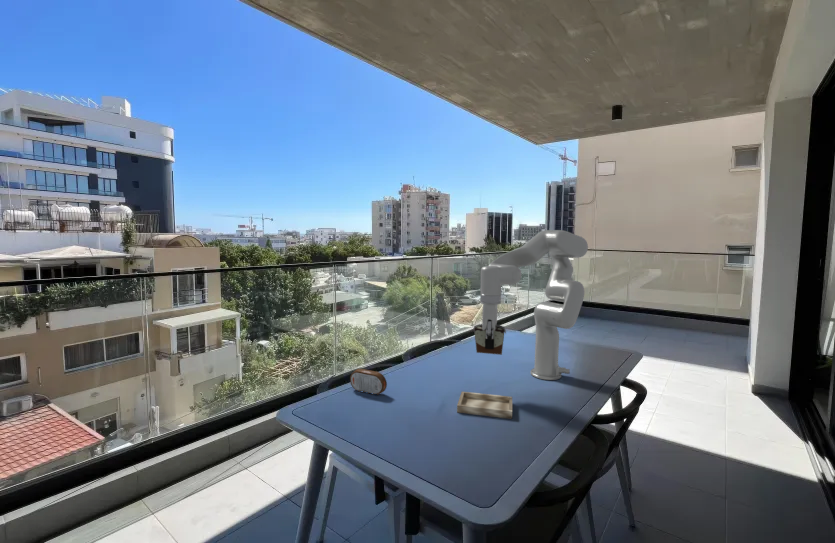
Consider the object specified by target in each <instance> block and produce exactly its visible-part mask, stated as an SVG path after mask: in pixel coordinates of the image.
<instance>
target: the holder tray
mask: <svg viewBox="0 0 835 543" xmlns="http://www.w3.org/2000/svg"><path fill="white" fill-rule="evenodd" d="M456 406H457V407H456V413H459V414H468V415H475V416H476V415H477V416H485V417H493V418H500V419H509V420H510V419H511V420H512V419H513V396H508V395H499V394H490V393H489V394H488V393H481V392H480V393H479V392H469V391H461V393H460V395H459V399H458V401H457V405H456Z"/></svg>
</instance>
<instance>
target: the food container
mask: <svg viewBox="0 0 835 543" xmlns="http://www.w3.org/2000/svg"><path fill="white" fill-rule="evenodd" d="M487 330H488V329H487ZM491 330H493V329H491ZM472 332H474V341H475V348H476V349H475V351H476V354H477V353H478V354H487V355H498V356H502V355H503V350H504V349H503V348H504V341H505V340H504V339H505V334H507V330H506V327H505V326H504V325H500V324H496V329H495V331H494V334H493V339H494V349H485V338H486V329H485V330H484V331H483V330H482V323H481V324H476V325H474V326H473V328H472ZM491 333H492V332H491Z"/></svg>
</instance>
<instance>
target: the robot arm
mask: <svg viewBox="0 0 835 543" xmlns="http://www.w3.org/2000/svg"><path fill="white" fill-rule="evenodd" d="M588 250H589V246H588V242H587V240H586V239H585V238H584V237H582V236H580V235H577V234H575V233H572V232H570V231H566V230H561V229H551V230H550V229H546V230H545V229H544V230H541V231H539V232H538V233H536V234H535V235H534V236H533V237H531V238H530V239H528V241H527V242H525V243H524V244H523V245H522V246H520V247H517V248H515V249H512V250H511V251H508V252H505V253H503V254H501V255H499V256H498V257H497V258H495V259H494V260H493V261H491V262H490V263H489V265H485V266H484V265H483V266H482V267H481V268H480V299H479V300H480V301H479V302H480V304H481V305H482V317H481V318H482V322H481V324H482V330H483V331H484V330H485V329H486V338H485V349H494V339H493V334H494V331H495V329H496V325H498V324H497V323H498V306H499V305H501V304H502V285H503V286H504V285H505V286H513V285H516V284H518V283H519V282H520V280H521V279H522V270H521V269H520V268H522V267H523V268H524V267H529V266H532V265H536V264H537V262H538V261H540V260H542V258H543V257H545V255H547V254H549V256H550V259H551V262H552V267H551V268H552V269H551V271H550V275H549V278H548V279H547V280H548V281H547V283H546V286H545V291H544V293H545V294H544V295H545V297H546V298H547V299H549V300H551V301H556V302H562V303H563V304H562V303H556V302H551V301H541V302H538V303H537V304H536V305H535V307H534V310H533V316H534V323H535V348H534V367H533V368H532V369H530V375H531V376H532V377H534V378H537V379H540V380H545V381H555V380H559V379H561V378H562V374H567V375H570V373H571V372H570V368H566V367H560V366H559V350H560V349H559V348H560V333H559V330H558V329H559V328H560V329H565V330H569V329H571V328H573V327H574V326H575V324H576V323H577V321H578V317H579V314H580V311H581V308H582V306H583V302H584V299H585V287H584V285H583V283H582V282H580V281H577V280H572V278H573V277H572V276H573V274H574V273H573V272H574V267H573V264H572V262H571V260H570V259H569V258H578V259H579V258H583V257H584V256H585V255H586V254H587V252H588ZM487 329H488V330H487ZM491 329H493V330H491ZM491 332H492V333H491Z"/></svg>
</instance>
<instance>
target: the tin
mask: <svg viewBox="0 0 835 543" xmlns="http://www.w3.org/2000/svg"><path fill="white" fill-rule="evenodd" d="M349 382H350V385H351V387H352V388H353V389H354V390H355V391H357V390H358V391H357V392H360V391H363V392H362V393H364V392H368V393H367V394H369V393H373V394H377V395H376V396H378V395H381V394H382V393H384V392H385V391H386V389H387V386H388V383H387V380H386V377H385V375H383V373H381V372H379V371H376V370H375V371H374V370H370V369H365V368H357V369H355V370H354V371H353V372H351V374H350V376H349ZM373 394H372V395H373Z"/></svg>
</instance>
